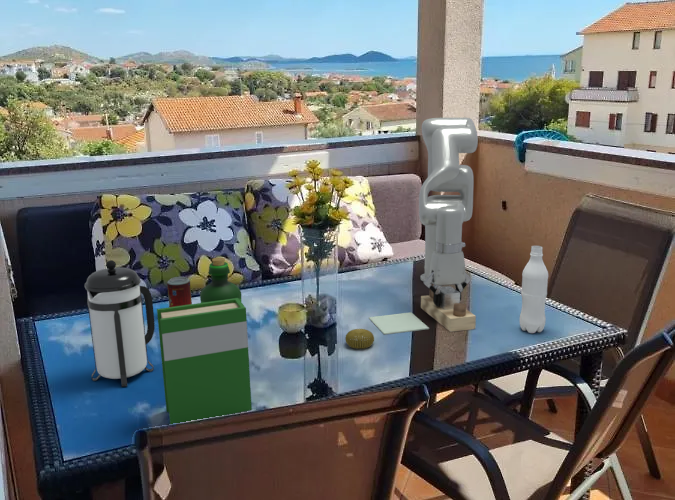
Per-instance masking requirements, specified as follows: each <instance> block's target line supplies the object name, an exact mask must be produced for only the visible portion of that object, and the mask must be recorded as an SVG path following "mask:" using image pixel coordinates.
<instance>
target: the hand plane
mask: <svg viewBox="0 0 675 500" xmlns="http://www.w3.org/2000/svg"><path fill="white" fill-rule="evenodd" d="M430 284H431V283H430ZM431 285H432V286H434V284H431ZM420 309H422V311H424V312H425V313H427V314H428V315H429V316H430V317H431V318H433V319H434V320H435V321H436V322H437V323H439V324H440V325H441V326H442V327H444V328H445V329H446V330H447V331H448V332H450V333H454V332H460V331H470V330H475V329H476V322H477V321H476V319H477V315H475V314H474V313H472V312H471V311H469V310H468V309H467V305H466V303H463V302H460V303H455V304H454V308H453V309H450V310H444V309H442V308H441V307H437V306H436V305H435V304H434V302H433V292H432V291H431V290H430V289H429V295H421V296H420Z"/></svg>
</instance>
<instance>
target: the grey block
mask: <svg viewBox="0 0 675 500" xmlns="http://www.w3.org/2000/svg"><path fill="white" fill-rule="evenodd" d="M455 289H456V288H455V287H452V286H451V285H445V286H442V287H441V289H440V292H439V294H440V295H441V306H440V307H441V308H442V309H444V310H450V309H453V308H454V304H455V303H461V301H460V292H458V291H457V290H455Z"/></svg>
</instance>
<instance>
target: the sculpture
mask: <svg viewBox="0 0 675 500" xmlns="http://www.w3.org/2000/svg"><path fill="white" fill-rule="evenodd" d="M344 340H345V343H346V344H347V345H348V347H350V348H352V349H357V350H360V349H361V350H362V349H367V348H370V347H371V346H373V344H374V342H375V336H374V334H373V333H372V332H371V331H370V330H368V329H365V328H353V329H351V330H349V331H348V332H347V333H346V335H345V339H344Z"/></svg>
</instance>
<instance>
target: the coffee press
mask: <svg viewBox="0 0 675 500" xmlns="http://www.w3.org/2000/svg"><path fill="white" fill-rule="evenodd" d="M116 266H117V263H116V262H115V261H114V260H108V261H107V262H106V265H105V267H106V268H103V269H100V270H96V271H94V272H92V273H91V274H90V275H89V276H88V277H87V278H86V282H85V283H84V288H85V290H86V292H87V298H86V299H87V300H86V301H87V302H86V303H87V308H88V317H89V325H90V333H91V343H92V351H93V360H94V366H95V367H94V368H95V369H94V371H93V372H92V374H91V381H93V382H96V381H99V378H101V377H103V378H106V379H112V380H118V379H120V381H121V388H124V387H128V380H127V378H130V377H133V376H136V375H138V374H140V373H141V372H142V371H144V370H145V371H147V372H151V373H152V372H153V371H154V365H153V364H152V363H151V362H150V361H149V356H148V355H147V354H148V349H147V348H148V347H147V345H148V344H149V343H150V342H151V341H152V339H153V336H154V334H155V330H156V329H155V325H156V323H155V315H154V313H155V312H154V303H153V302H154V301H153V296H152V293H151V291H150V289H149V288H148V287H147V286H143V285H140V284H141V282H142V281H141V277H140V276H139V275H138V274H137V272H136V271H134V269H131V268H128V267H116ZM142 295H143V297H144V299H143V297H142ZM143 300H144V305H145V316H146V323H147V324H146V326H147V330H146V329H145V319H144V309H143ZM148 364H149V366H151V367H152V368H151V369H149V368H148V367H146V366H147V365H148ZM96 371H97V374H98V376H96V377H95V378H94V375H95V374H96Z"/></svg>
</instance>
